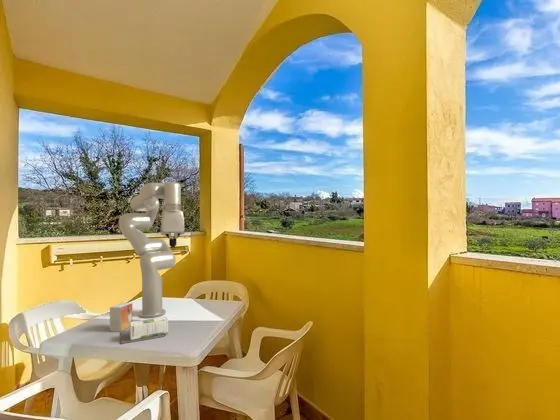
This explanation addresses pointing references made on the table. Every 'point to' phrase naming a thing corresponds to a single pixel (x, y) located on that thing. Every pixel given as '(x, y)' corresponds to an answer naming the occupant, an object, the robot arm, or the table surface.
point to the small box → (120, 316)
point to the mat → (126, 339)
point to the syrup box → (148, 328)
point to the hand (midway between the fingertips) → (172, 247)
